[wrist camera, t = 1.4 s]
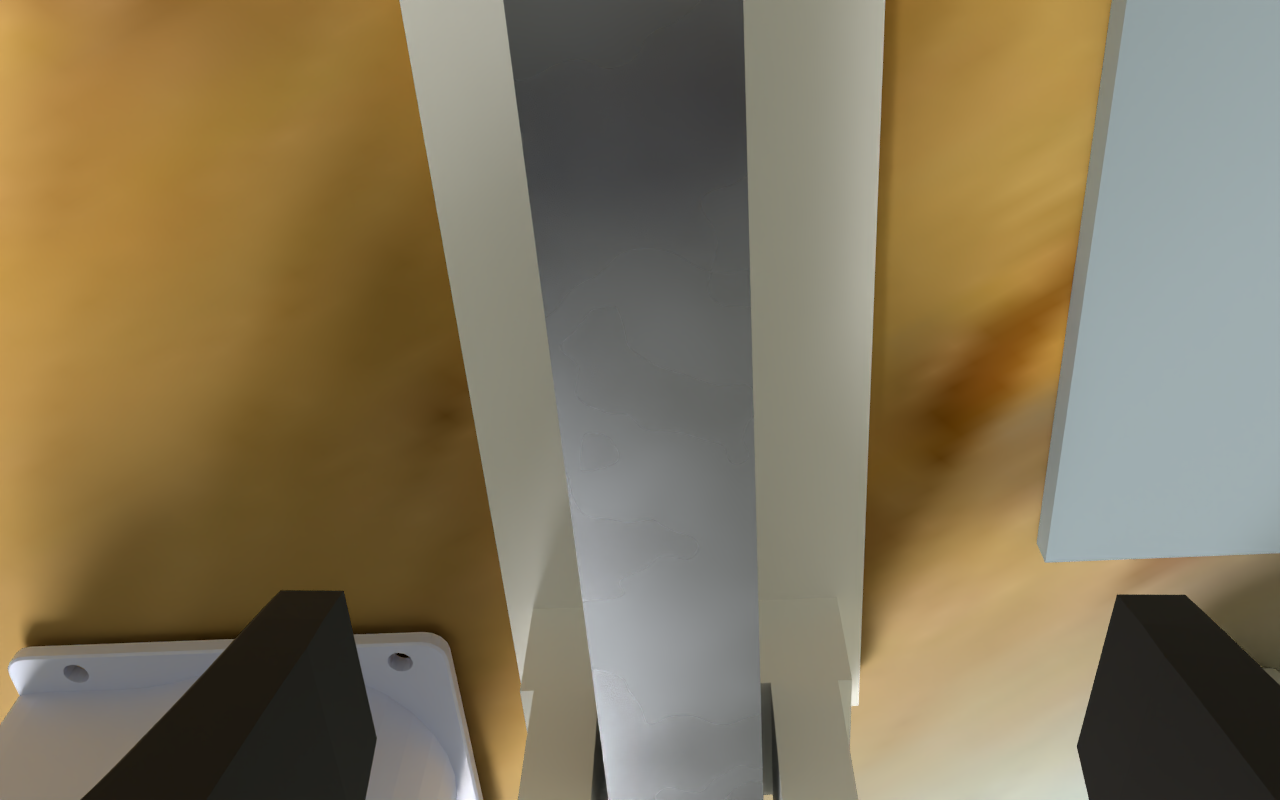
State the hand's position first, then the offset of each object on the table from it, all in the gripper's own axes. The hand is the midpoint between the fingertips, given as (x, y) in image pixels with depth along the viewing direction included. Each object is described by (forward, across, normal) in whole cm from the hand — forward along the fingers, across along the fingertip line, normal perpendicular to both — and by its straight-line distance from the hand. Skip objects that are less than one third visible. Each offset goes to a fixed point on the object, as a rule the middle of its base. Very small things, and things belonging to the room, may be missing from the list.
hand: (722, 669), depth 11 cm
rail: (+7, +1, 0) cm, 7 cm away
